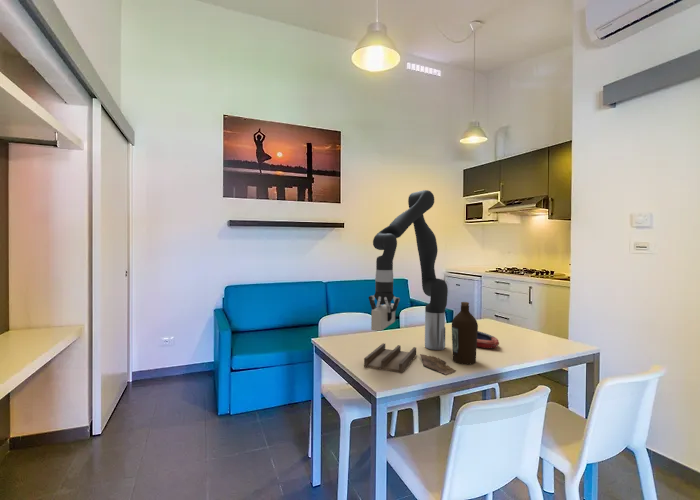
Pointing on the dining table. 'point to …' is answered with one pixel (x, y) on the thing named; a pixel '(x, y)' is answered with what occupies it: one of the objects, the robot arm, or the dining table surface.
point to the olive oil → (464, 336)
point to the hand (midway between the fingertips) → (383, 320)
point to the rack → (389, 359)
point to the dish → (486, 340)
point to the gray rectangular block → (381, 318)
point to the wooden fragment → (436, 364)
